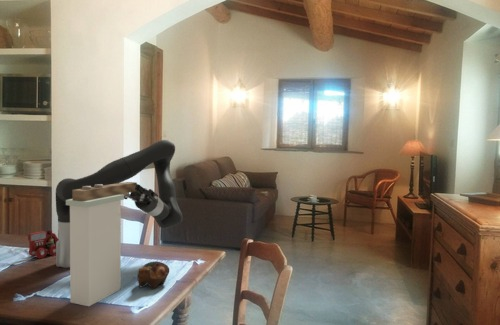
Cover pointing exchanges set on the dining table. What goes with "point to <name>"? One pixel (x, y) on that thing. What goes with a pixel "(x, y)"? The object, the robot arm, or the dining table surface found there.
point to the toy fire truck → (42, 243)
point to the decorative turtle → (153, 274)
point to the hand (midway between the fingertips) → (125, 185)
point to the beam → (102, 191)
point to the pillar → (95, 249)
